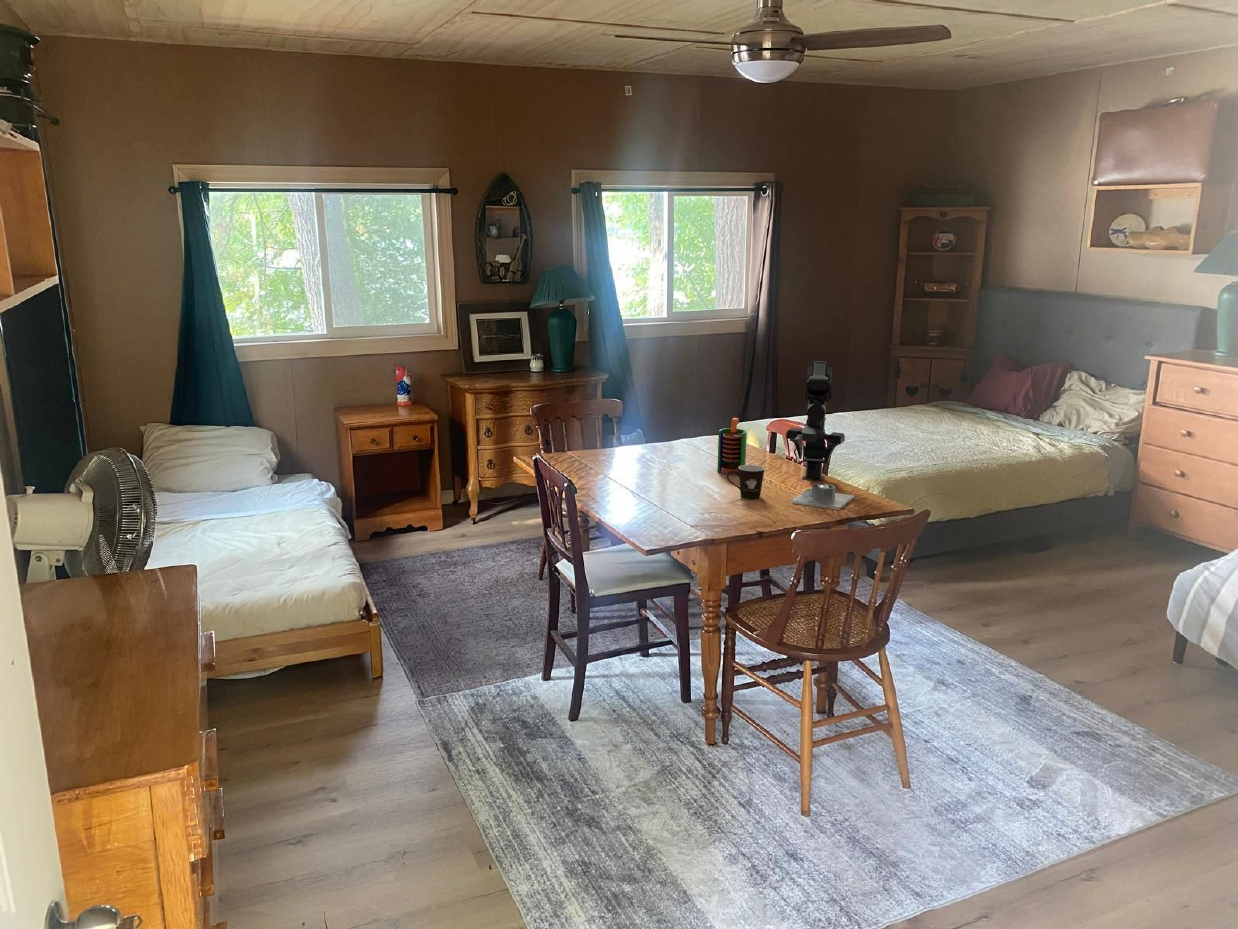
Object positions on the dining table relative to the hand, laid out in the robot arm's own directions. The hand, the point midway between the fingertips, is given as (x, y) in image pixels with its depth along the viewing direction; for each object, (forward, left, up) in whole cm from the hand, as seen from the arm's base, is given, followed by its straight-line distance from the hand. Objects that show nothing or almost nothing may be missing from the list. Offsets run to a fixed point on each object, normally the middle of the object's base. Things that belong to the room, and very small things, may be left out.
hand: (813, 460), depth 318 cm
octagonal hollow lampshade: (+7, +6, -10) cm, 14 cm away
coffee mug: (+15, -18, -12) cm, 26 cm away
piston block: (+7, +6, -11) cm, 15 cm away
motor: (-13, -35, -12) cm, 39 cm away
